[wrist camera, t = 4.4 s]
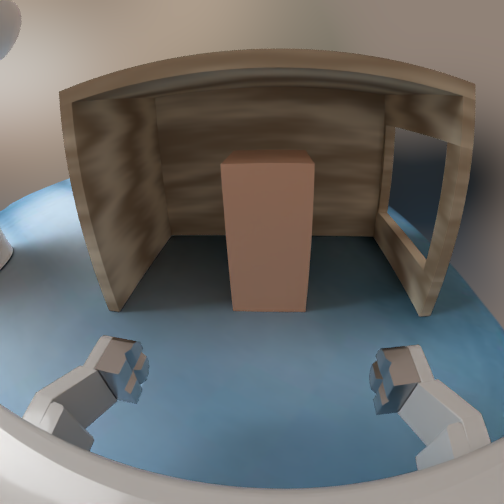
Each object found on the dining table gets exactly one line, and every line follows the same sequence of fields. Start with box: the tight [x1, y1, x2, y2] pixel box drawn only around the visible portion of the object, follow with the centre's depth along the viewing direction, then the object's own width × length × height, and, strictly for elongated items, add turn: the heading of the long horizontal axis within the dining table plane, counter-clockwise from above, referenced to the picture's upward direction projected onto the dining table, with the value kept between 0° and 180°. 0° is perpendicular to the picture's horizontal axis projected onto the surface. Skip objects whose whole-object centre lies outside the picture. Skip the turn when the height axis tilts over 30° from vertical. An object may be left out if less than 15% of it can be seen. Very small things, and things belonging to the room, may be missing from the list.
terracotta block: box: [220, 150, 315, 312], centre depth 19 cm, size 5×5×10 cm
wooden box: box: [59, 49, 475, 317], centre depth 21 cm, size 14×24×16 cm, turn 85°
